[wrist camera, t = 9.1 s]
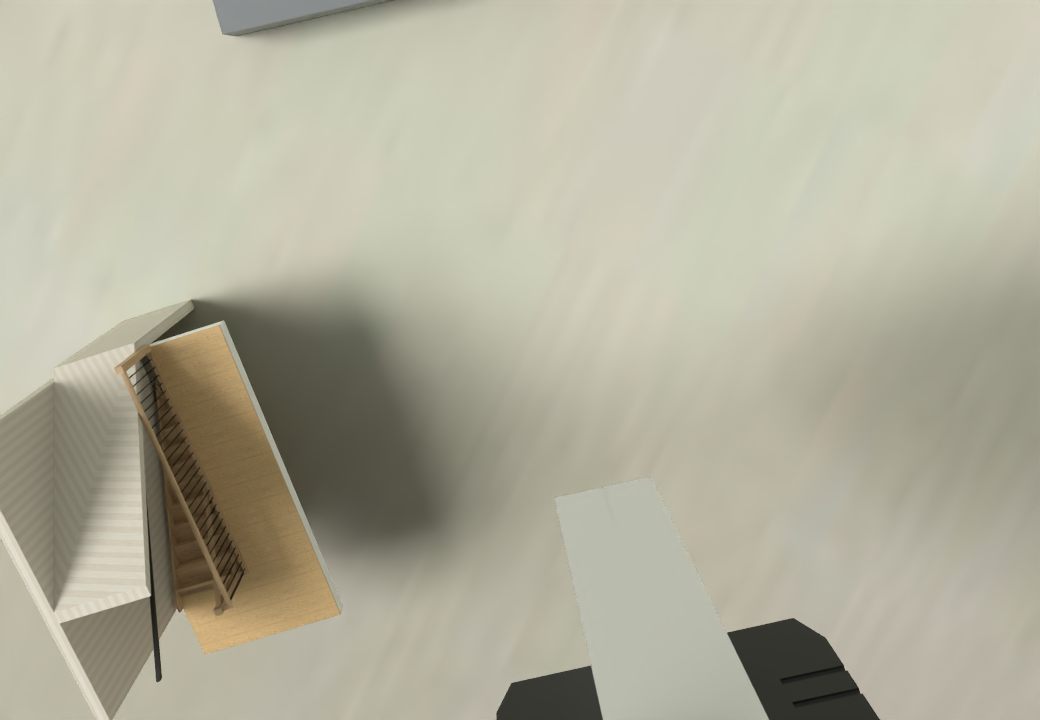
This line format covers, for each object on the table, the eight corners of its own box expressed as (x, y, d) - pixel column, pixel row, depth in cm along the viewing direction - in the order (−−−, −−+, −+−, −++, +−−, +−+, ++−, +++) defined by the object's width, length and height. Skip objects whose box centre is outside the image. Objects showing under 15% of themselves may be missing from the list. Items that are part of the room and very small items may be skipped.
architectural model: (259, 275, 22) (149, 372, 15) (362, 534, 24) (308, 728, 17) (120, 319, 22) (-54, 435, 15) (234, 572, 24) (128, 780, 17)
